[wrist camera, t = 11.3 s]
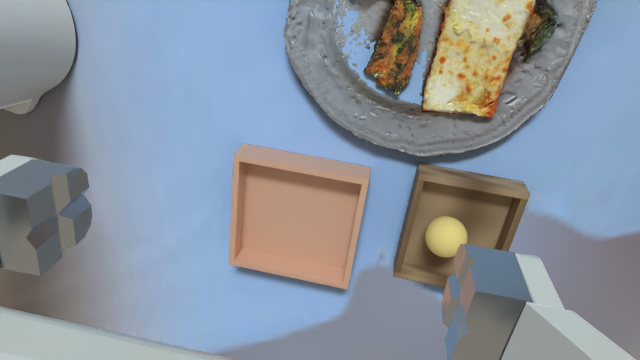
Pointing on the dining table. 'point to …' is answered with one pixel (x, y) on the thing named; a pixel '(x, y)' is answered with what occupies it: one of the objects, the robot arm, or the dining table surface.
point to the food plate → (436, 66)
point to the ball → (445, 236)
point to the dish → (296, 214)
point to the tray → (456, 217)
